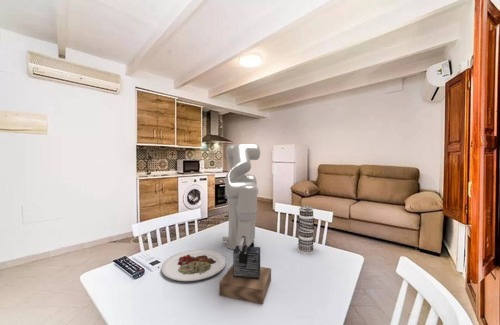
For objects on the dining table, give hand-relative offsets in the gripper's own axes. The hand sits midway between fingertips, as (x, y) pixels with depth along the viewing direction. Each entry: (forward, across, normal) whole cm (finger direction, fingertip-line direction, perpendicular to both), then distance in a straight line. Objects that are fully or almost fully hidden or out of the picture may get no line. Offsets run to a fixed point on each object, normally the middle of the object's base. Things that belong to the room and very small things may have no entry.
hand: (246, 257), depth 88 cm
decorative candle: (+13, -42, +22) cm, 50 cm away
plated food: (+13, -8, -29) cm, 33 cm away
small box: (+7, 0, 0) cm, 7 cm away
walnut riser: (+12, +1, 0) cm, 12 cm away
